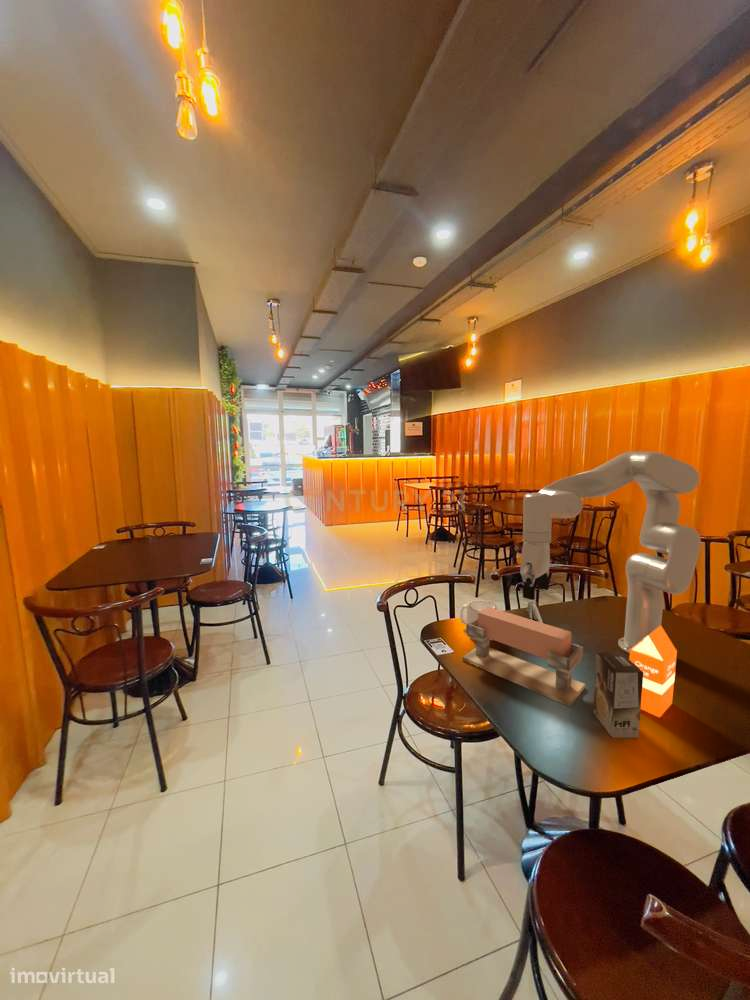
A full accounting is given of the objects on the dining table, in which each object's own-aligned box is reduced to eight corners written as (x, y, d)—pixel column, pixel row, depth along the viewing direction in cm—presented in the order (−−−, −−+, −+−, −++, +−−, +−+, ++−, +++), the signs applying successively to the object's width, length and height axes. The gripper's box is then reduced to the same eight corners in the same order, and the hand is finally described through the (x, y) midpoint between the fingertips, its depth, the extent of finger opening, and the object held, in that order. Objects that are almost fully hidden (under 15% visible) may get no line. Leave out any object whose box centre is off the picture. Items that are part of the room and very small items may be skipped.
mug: (452, 631, 145) (452, 603, 143) (468, 622, 151) (469, 595, 150) (485, 644, 135) (486, 614, 133) (501, 634, 142) (502, 605, 140)
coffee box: (640, 738, 91) (645, 672, 89) (611, 738, 92) (616, 672, 89) (617, 711, 100) (621, 651, 98) (591, 711, 101) (595, 651, 98)
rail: (570, 656, 110) (571, 631, 109) (561, 664, 106) (563, 639, 105) (487, 627, 127) (488, 606, 126) (477, 634, 123) (478, 612, 122)
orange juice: (672, 703, 103) (679, 630, 100) (660, 718, 98) (667, 640, 95) (638, 689, 109) (644, 619, 107) (624, 702, 104) (630, 629, 101)
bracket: (534, 610, 156) (539, 593, 151) (549, 659, 139) (555, 641, 133) (526, 610, 157) (530, 592, 151) (539, 659, 139) (545, 641, 134)
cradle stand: (584, 687, 110) (587, 646, 109) (570, 706, 103) (572, 662, 101) (480, 647, 133) (481, 613, 131) (462, 660, 125) (463, 624, 123)
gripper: (536, 529, 123) (535, 582, 126) (510, 540, 111) (509, 599, 114) (561, 532, 118) (560, 587, 120) (537, 544, 106) (536, 606, 108)
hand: (535, 593), depth 117 cm, fingers open, 9 cm apart
